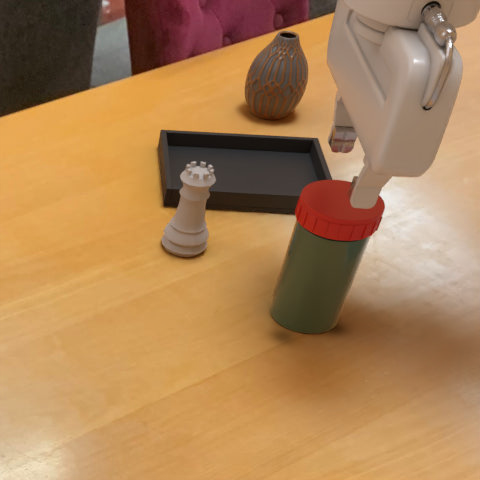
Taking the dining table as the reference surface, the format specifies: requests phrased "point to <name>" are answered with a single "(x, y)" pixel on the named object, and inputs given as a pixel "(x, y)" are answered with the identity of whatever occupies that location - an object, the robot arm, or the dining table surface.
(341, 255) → the jar
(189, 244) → the rook chess piece
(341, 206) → the lid
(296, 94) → the vase
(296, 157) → the tray
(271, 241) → the dining table surface
